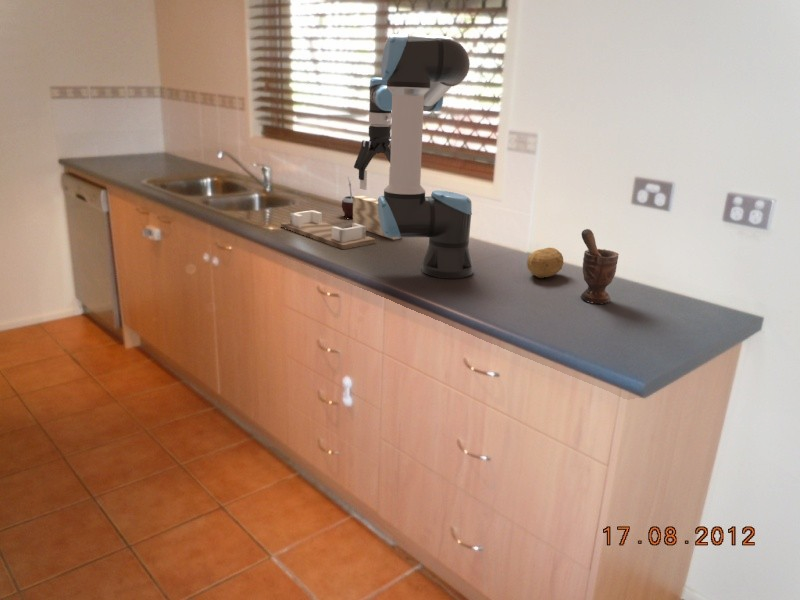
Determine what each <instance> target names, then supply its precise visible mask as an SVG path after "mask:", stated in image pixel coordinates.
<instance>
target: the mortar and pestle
mask: <svg viewBox="0 0 800 600" xmlns="http://www.w3.org/2000/svg"><path fill="white" fill-rule="evenodd" d="M581 239H582V240H583V243H584V244H585V246H586V248H587V249H586V250H585V251H584V253H583V259H582V260H583V262H582V275H583V281H585V283H586V284H587V286H588V287H587V288H586V289H585V290H584V291H583V292H582V293H581V295H580V298H581V299H582V300H583V299H584V300H586V301H589V302H593V303H605V304H608V303H610V301H611V297H610V294H609V293H608V292H607V291H606V288H607V286H609V285H610V284H611V283H612V282H613V279H614V277H615V275H616V272H617V267H618V265H617V264H618V262H619V261H618V259H619V253H618V252H616V251H613V250H609V249H605V248H603V249H602V248H598V247H597V243H596V238H595V234H594V233H593V231H592V230H591V229H589V228H586V229H585V228H584V229H583V230H582V231H581ZM584 300H583V301H584ZM586 301H585V302H586ZM589 302H588V303H589ZM607 302H608V303H607ZM593 303H592V304H593Z"/></svg>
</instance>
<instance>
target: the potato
mask: <svg viewBox="0 0 800 600" xmlns="http://www.w3.org/2000/svg"><path fill="white" fill-rule="evenodd" d="M526 266H527V270H529V272H530V273H531V275H534V276H535V277H536V278H539V279H543V278H544V277H545V278H549V277H552V276H555V275H556V274H557V273H558V272H560V271H561V270H562V269H563V267H564V256H563V254H562V252H560V251H559V250H558V249H556V248H555V247H545V248H541V249H537V250H534V251H533V252H531V253H530V254H529V256H528V257H527V261H526Z"/></svg>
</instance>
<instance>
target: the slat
mask: <svg viewBox="0 0 800 600" xmlns="http://www.w3.org/2000/svg"><path fill="white" fill-rule="evenodd" d="M353 223H357V224H360V225H363V226H366V232H370V233H373V234H376V235H379V236H381V237H384V238H387V239H390V240H393V241H394V240H399V239H400V240H401V239H402V238H395V237H387V236H385V235H384V234H383V232H382V229H381V225H380V220H379V213H378V199H375V198H372V197H369V196H365V195H358V196H356V195H355V196H353V219H352V224H353Z"/></svg>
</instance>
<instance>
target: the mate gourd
mask: <svg viewBox="0 0 800 600" xmlns="http://www.w3.org/2000/svg"><path fill="white" fill-rule="evenodd" d="M347 180H348V187H349V196H344V197H343V199H342V200H341V201H342V202H341V209H342V212H343V214H344V215H343V217H344V218H346V219H345V220H348V219H347V218H350V219H352V218H353V197H354V196H352V195H353V194H352V183H351V180H350V177H349V176H348V177H347Z"/></svg>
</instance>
